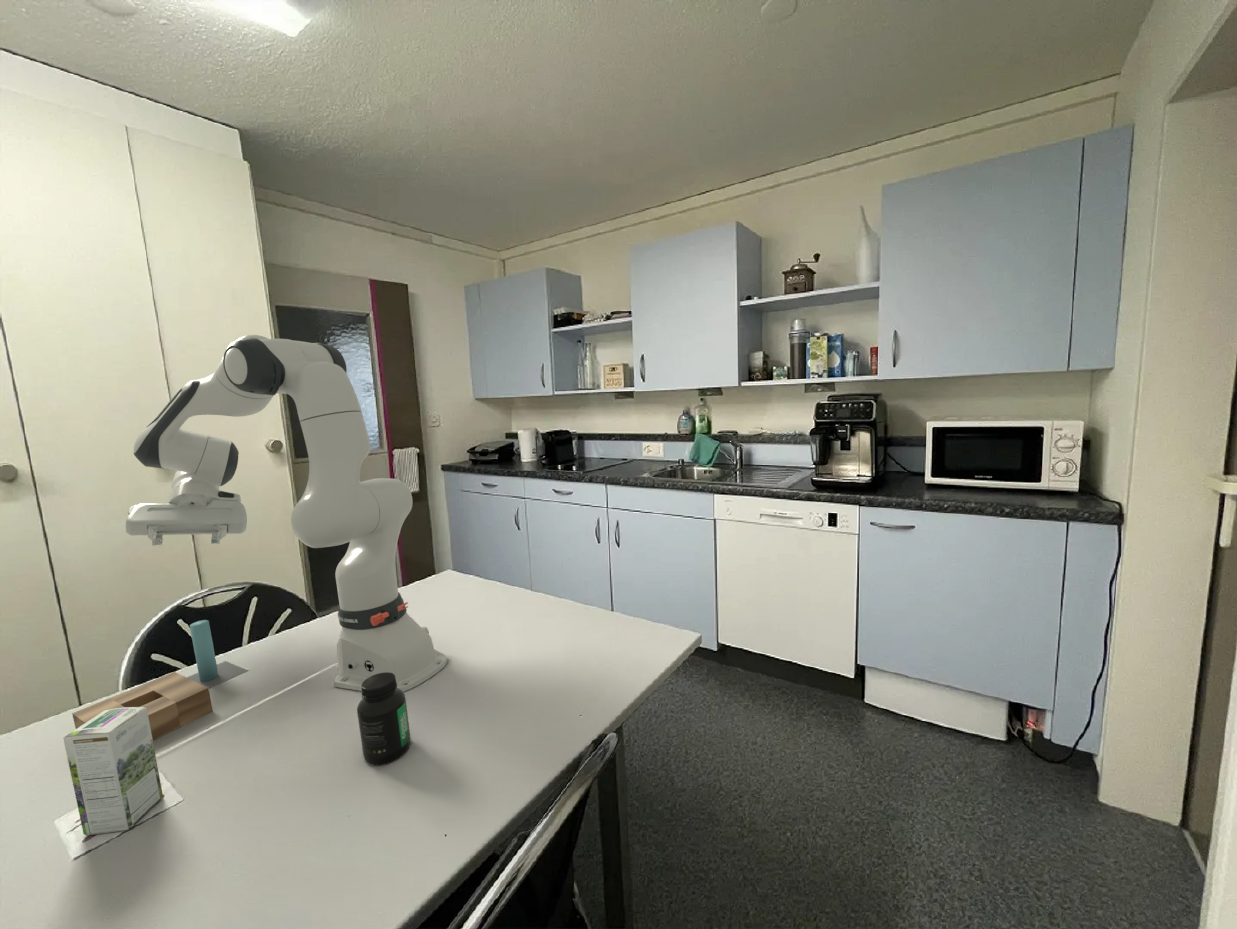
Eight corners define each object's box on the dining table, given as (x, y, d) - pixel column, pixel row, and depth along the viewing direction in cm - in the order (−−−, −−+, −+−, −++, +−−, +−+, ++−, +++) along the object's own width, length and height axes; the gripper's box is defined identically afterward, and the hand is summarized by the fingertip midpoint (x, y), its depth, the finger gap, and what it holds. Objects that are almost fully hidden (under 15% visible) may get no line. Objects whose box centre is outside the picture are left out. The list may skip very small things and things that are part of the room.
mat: (248, 672, 105) (248, 670, 105) (191, 698, 96) (191, 696, 96) (225, 662, 110) (225, 661, 110) (168, 687, 101) (168, 685, 101)
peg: (221, 675, 104) (211, 621, 102) (204, 683, 101) (193, 627, 99) (214, 672, 105) (204, 619, 103) (197, 679, 102) (186, 625, 101)
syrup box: (122, 802, 71) (101, 709, 69) (166, 797, 71) (146, 704, 69) (83, 837, 65) (59, 736, 63) (130, 831, 66) (108, 731, 64)
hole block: (213, 713, 91) (208, 687, 90) (109, 764, 79) (102, 735, 78) (178, 695, 98) (174, 671, 97) (78, 739, 86) (72, 713, 85)
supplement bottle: (419, 747, 78) (410, 677, 77) (375, 774, 73) (365, 699, 72) (399, 730, 83) (390, 663, 81) (356, 754, 78) (346, 683, 76)
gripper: (130, 492, 107) (117, 531, 97) (248, 494, 120) (247, 529, 110) (130, 515, 109) (118, 556, 100) (246, 515, 122) (244, 551, 113)
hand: (187, 542), depth 105 cm, fingers open, 8 cm apart
